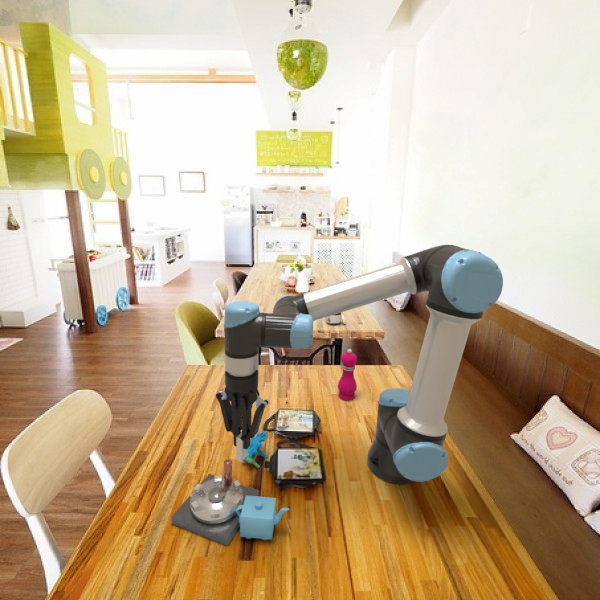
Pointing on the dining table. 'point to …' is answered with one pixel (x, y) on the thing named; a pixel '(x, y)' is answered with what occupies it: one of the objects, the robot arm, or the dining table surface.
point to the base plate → (211, 531)
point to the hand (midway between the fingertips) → (242, 457)
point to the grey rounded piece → (217, 498)
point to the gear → (255, 448)
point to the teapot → (258, 517)
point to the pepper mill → (347, 376)
